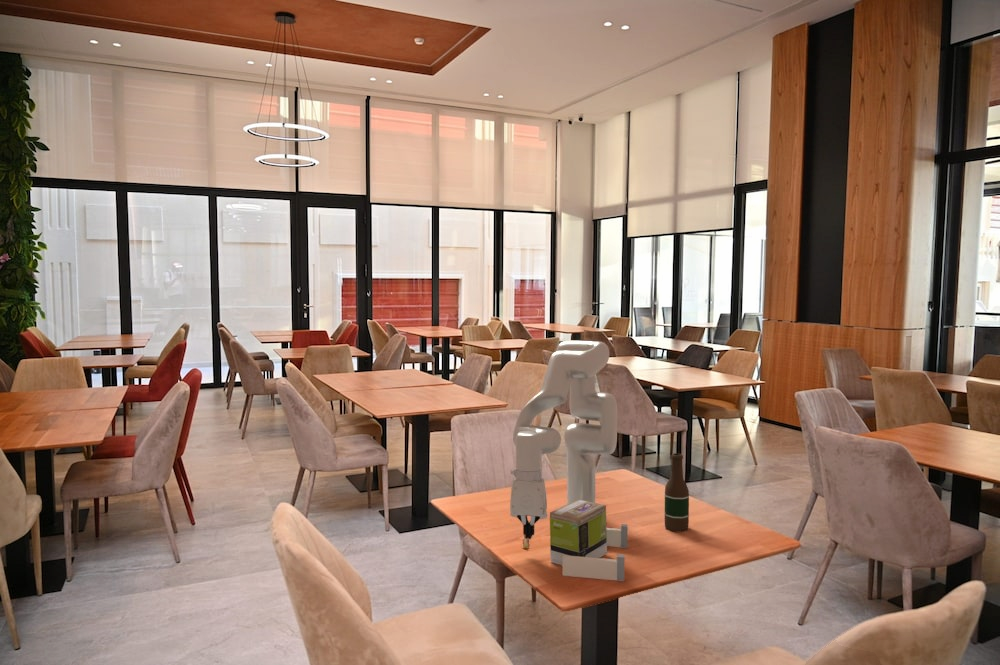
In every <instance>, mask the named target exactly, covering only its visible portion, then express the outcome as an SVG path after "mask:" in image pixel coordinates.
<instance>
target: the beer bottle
mask: <svg viewBox="0 0 1000 665" xmlns="http://www.w3.org/2000/svg"><path fill="white" fill-rule="evenodd" d="M683 459H684V456H683V454H682V453H672V454H671V470H670V477H669V479H668V481H667V482H666V483H665V484H666V485H665V486H664V527H665V530H668V531H671V532H675V533H676V532H678V533H684V532H686V531H688V530H689V526H690V525H689V523H690V522H689V517H690V513H689V511H690V510H689V509H690V507H689V506H690V493H689V492H690V491H689V488H688V485H687V483H686V481H685V479H684V474H683V473H684V471H683V468H684V467H683Z"/></svg>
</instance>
